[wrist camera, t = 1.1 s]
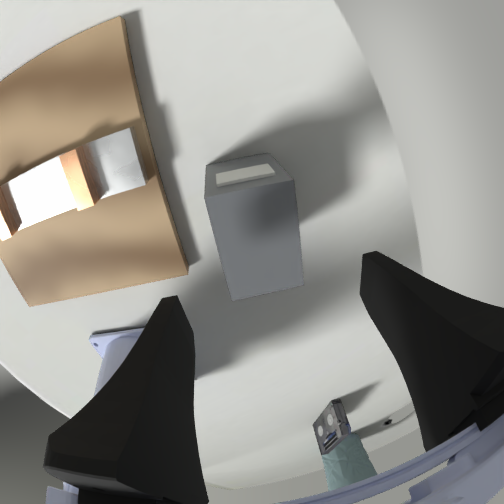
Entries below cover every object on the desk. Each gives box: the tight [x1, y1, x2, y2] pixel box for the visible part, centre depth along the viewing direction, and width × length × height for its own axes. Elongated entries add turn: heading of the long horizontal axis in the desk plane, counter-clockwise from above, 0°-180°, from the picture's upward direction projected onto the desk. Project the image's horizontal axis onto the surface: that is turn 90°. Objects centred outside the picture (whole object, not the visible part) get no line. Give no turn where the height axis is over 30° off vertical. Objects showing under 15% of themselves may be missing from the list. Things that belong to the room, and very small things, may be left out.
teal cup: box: [322, 434, 378, 491], centre depth 43 cm, size 10×10×12 cm
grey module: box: [204, 153, 304, 301], centre depth 16 cm, size 6×4×6 cm, turn 10°
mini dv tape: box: [313, 399, 351, 455], centre depth 35 cm, size 8×2×6 cm, turn 170°
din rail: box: [0, 126, 149, 241], centre depth 14 cm, size 4×15×2 cm, turn 100°
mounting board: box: [0, 16, 189, 307], centre depth 15 cm, size 18×16×1 cm
